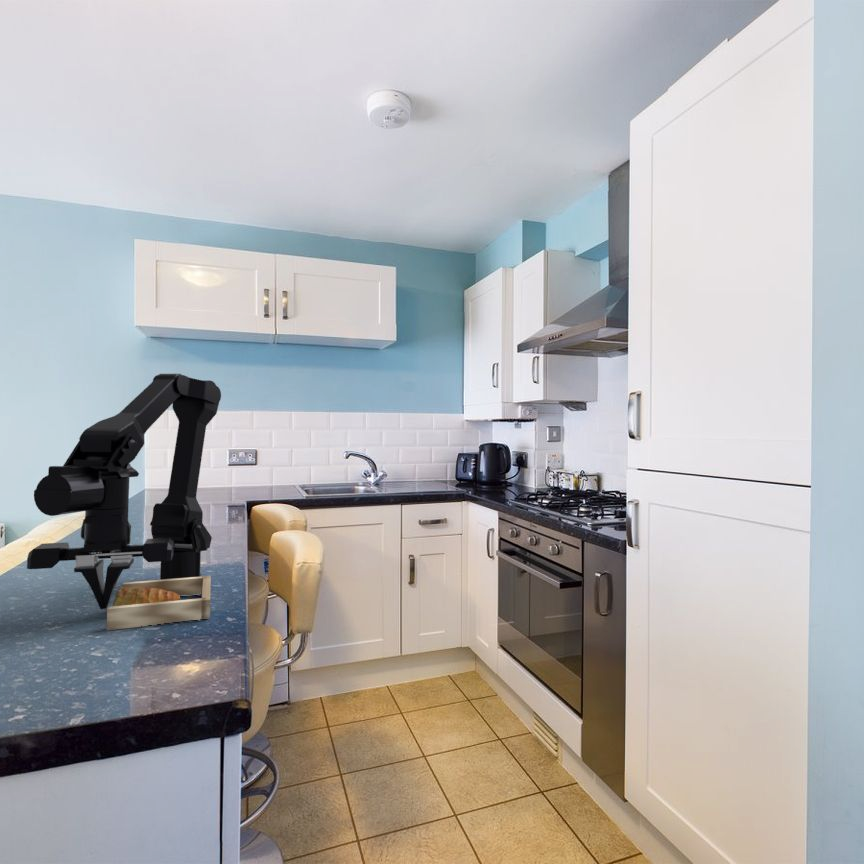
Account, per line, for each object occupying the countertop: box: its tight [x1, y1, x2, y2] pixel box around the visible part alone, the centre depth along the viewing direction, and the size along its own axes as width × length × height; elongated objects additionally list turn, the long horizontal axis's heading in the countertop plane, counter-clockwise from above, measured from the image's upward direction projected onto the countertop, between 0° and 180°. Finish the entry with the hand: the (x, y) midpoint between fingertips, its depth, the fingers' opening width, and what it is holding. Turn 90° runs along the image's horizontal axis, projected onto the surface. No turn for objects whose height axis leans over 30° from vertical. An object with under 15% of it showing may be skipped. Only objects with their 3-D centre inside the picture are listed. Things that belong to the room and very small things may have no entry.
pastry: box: [112, 586, 181, 606], centre depth 85 cm, size 9×7×4 cm
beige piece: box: [106, 575, 212, 631], centre depth 85 cm, size 14×15×3 cm
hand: (103, 608), depth 81 cm, fingers closed
